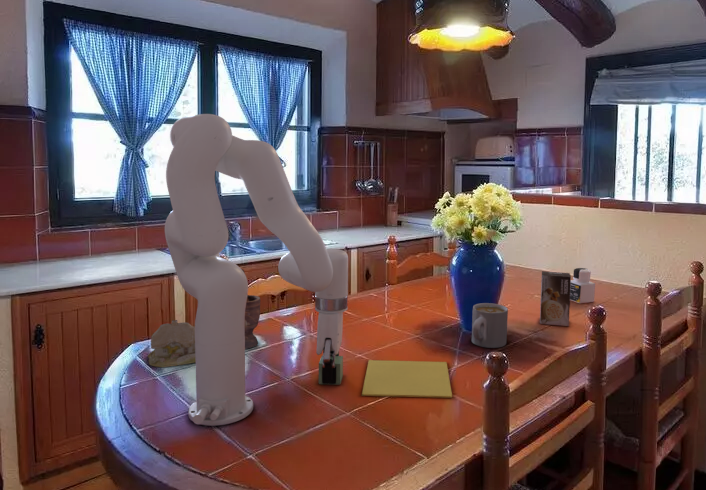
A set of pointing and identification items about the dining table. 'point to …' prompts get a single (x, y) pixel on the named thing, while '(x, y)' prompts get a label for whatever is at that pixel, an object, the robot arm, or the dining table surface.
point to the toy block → (338, 369)
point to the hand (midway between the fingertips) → (330, 377)
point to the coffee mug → (489, 325)
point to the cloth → (407, 379)
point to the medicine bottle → (582, 286)
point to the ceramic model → (173, 345)
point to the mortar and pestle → (251, 319)
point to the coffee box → (555, 298)
